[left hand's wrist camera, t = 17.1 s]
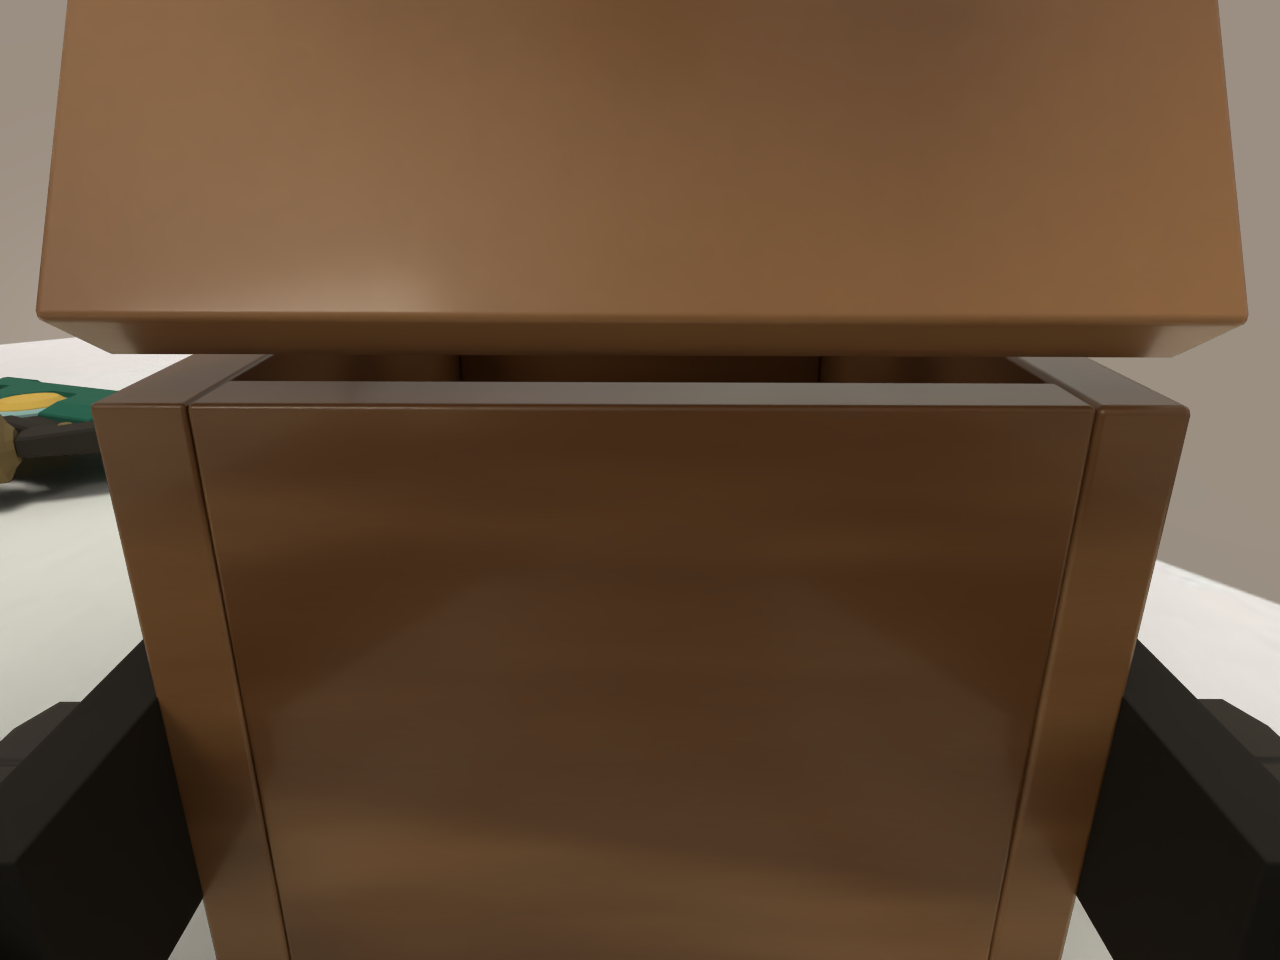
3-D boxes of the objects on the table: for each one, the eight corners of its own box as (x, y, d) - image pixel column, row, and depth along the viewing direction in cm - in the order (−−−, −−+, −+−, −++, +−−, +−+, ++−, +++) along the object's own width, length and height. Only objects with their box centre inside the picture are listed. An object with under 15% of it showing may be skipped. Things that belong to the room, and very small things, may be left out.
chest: (454, 660, 24) (419, 242, 20) (823, 661, 24) (861, 243, 20) (267, 1190, 12) (87, 403, 8) (1008, 1191, 12) (1196, 407, 8)
